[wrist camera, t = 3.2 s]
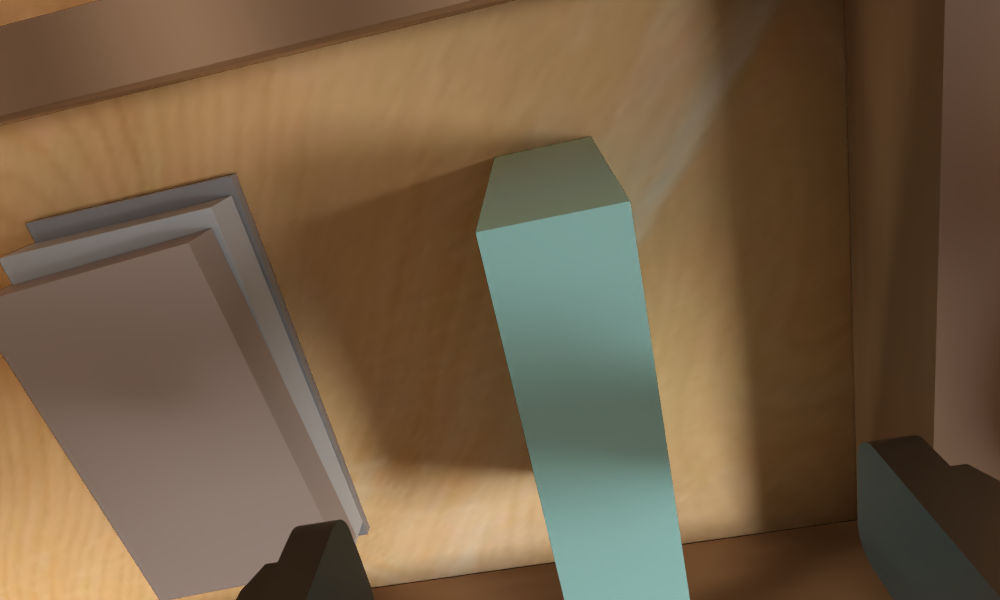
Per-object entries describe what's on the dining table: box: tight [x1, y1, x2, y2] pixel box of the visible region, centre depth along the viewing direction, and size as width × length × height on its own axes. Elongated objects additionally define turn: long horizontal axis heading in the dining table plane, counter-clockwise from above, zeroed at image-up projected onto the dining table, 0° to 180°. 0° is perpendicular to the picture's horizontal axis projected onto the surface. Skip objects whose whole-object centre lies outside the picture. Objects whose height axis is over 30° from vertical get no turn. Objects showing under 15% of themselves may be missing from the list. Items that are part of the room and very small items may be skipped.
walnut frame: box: [0, 0, 1000, 600], centre depth 17 cm, size 24×20×4 cm
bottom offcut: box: [26, 173, 370, 536], centre depth 20 cm, size 6×12×1 cm, turn 13°
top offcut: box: [0, 228, 356, 600], centre depth 18 cm, size 6×10×1 cm, turn 16°
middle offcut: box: [0, 196, 363, 543], centre depth 19 cm, size 6×11×1 cm, turn 14°
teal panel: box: [475, 137, 690, 600], centre depth 16 cm, size 2×10×7 cm, turn 13°
